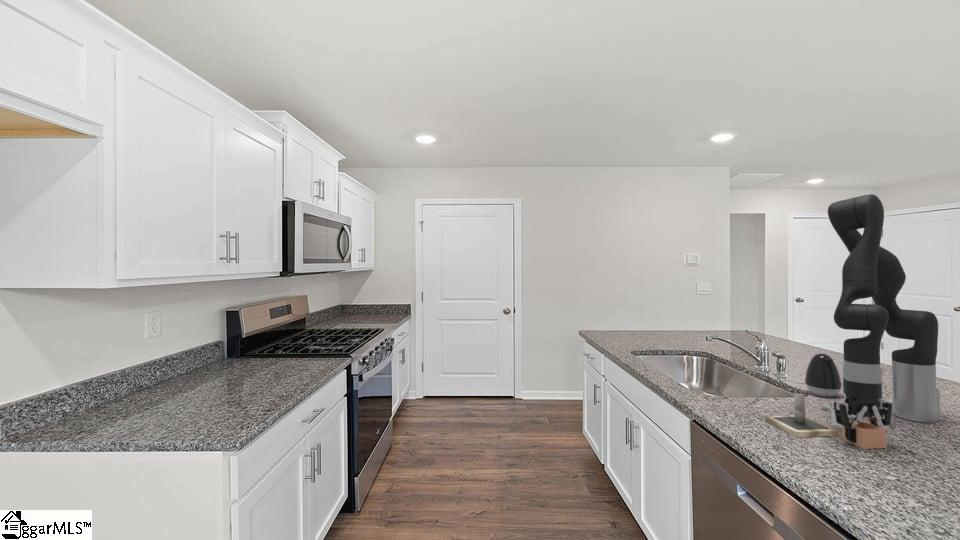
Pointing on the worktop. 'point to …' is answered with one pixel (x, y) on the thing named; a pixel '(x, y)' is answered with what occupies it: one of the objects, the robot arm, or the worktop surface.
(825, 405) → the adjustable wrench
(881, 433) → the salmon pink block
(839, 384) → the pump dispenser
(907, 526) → the worktop surface
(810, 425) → the post plate
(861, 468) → the worktop surface
